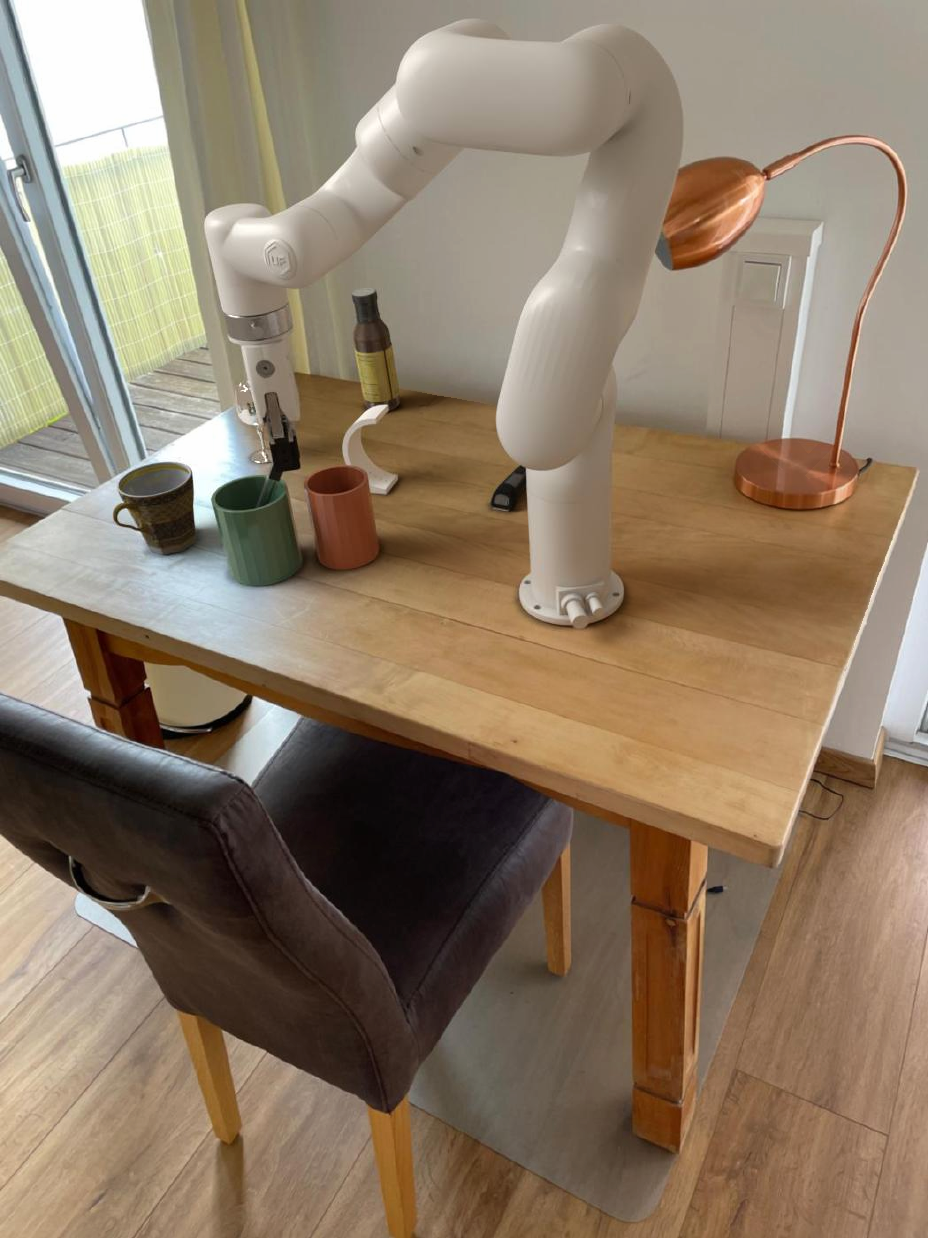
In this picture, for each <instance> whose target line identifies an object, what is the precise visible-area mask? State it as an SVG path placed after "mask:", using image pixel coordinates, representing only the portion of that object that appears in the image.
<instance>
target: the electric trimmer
mask: <svg viewBox="0 0 928 1238" xmlns="http://www.w3.org/2000/svg"><path fill="white" fill-rule="evenodd" d="M526 484H527V481H526V468H525V467H523V466H521V465H519V466H517V467H516V468H515V469H514V470H513V471H512V472H511V473H510V474H509V475H508V476H507V477H506V478H505V479H504V480H503V481H502V482H501V483H500V484H499V485H498V486H497V487H496V489H495V490H494V492H493V494H492V497H491V499H490V505H491V507H492V509H493V510H498V511H504V512H509V511H510V510H514V509H515V508H516V506H517V502H518V498H519V497H520V495H521V494H522V493H523V492H524V490H525V489H527V486H526Z"/></svg>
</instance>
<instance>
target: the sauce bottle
mask: <svg viewBox="0 0 928 1238" xmlns="http://www.w3.org/2000/svg"><path fill="white" fill-rule="evenodd" d="M378 297H379V296H378V292H377V289H376V288H374V287H360V288H357V289H354V290H353V291H352V292H351V300H352V303H353V305H354V310H355V314H356V316H355V318H356V324H355V326H354V329H353V332H352V339H353V347H354V354H355V358H356V364H357V369H358V375H359V381H360V387H361V392H362V398H363V399H364V405H365V407H366V409H367V410H368V409H370V408H372V407H375V406H378V405H388V409H389V410H388V412H390V411H393V410H395V409H396V408H397V407H398V406H399V405H400V404H401V397H400V387H399V381H398V375H397V368H396V361H395V355H394V349H393V343H392V341H391V335H390V334H391V333H390V329H389V328H388V326H387V324H386V323H385V322H384V321H383V320H382V319H381V313H380V310H379V305H378V304H379V303H378V299H379V298H378Z"/></svg>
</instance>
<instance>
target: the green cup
mask: <svg viewBox="0 0 928 1238" xmlns="http://www.w3.org/2000/svg"><path fill="white" fill-rule="evenodd" d="M267 475H268V474H253V475H248V476H242V477H238V478H235V479H232V480H230V481H227V482H225V483H224V484H222V485H220V486H219V487H218V488H217V489H216V490H215V491H214V492H213V493H212V495H211V499H210V501H211V506H212V509H213V513H214V517H215V521H216V525H217V528H218V532H219V537H220V540H221V543H222V547H223V551H224V555H225V558H226V563H227V566H228V570H229V574H230V576H231V578H232V579H233V580H234V581H235V582H236V583H238V584H241V585H244V586H249V587H263V586H269V585H274V584H277V583H281V582H283V581H285V580H287V579H290V578H291V577H292V576H294V575H295V574H296V573H297V572H298V571H299V570H300V569H301V567H302V564H303V553H302V550H301V543H300V540H299V536H298V531H297V525H296V520H295V516H294V512H293V511H294V510H293V507H292V502H291V496H290V492H289V486H288V485H287V482H285V480H283V479H282V478H281V479H280V481H279V484H278V487H277V489H276V492H275V495H274V498H273V500H272V502H271V503H269V504H267V505H266V502H267V499H268V497H269V494H270V491H271V488H272V485H273V483H274V480H272V479H271V481H270V484H269V487H268V489H267V492H266V495H265V498H264V500H263V503H262V506H261V507H259V508H256V505H257V503H258V500H259V497H260V494H261V491H262V489H263V486H264V483H265V480H266V477H267Z"/></svg>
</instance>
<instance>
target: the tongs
mask: <svg viewBox="0 0 928 1238" xmlns="http://www.w3.org/2000/svg"><path fill="white" fill-rule="evenodd" d="M290 425H291V430H292V435H293V438H297V425H296V423H295V422H294V421H292V422H290ZM285 427H286V426H285ZM283 473H284V472H279V473H277V472H276V471H275V469H274V464H273V460H272V461H271V462H270V465H269V468H268V472H267V474H266V475H267V477H266V480H265V483H264V486H263V489H262V491H261V494H260V497H259V500H258V503H257V505H256V508H259V507H261V506H262V503H263V500H264V498H265V495H266V492H267V489H268V487H269V484H270V481H271V479H272V480H274V483H273V485H272V488H271V491H270V494H269V497H268V499H267V502H266V505H267V504H269V503H271V502H272V500H273V498H274V495H275V492H276V489H277V487H278V484H279V481H280V479H282V476H283Z"/></svg>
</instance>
